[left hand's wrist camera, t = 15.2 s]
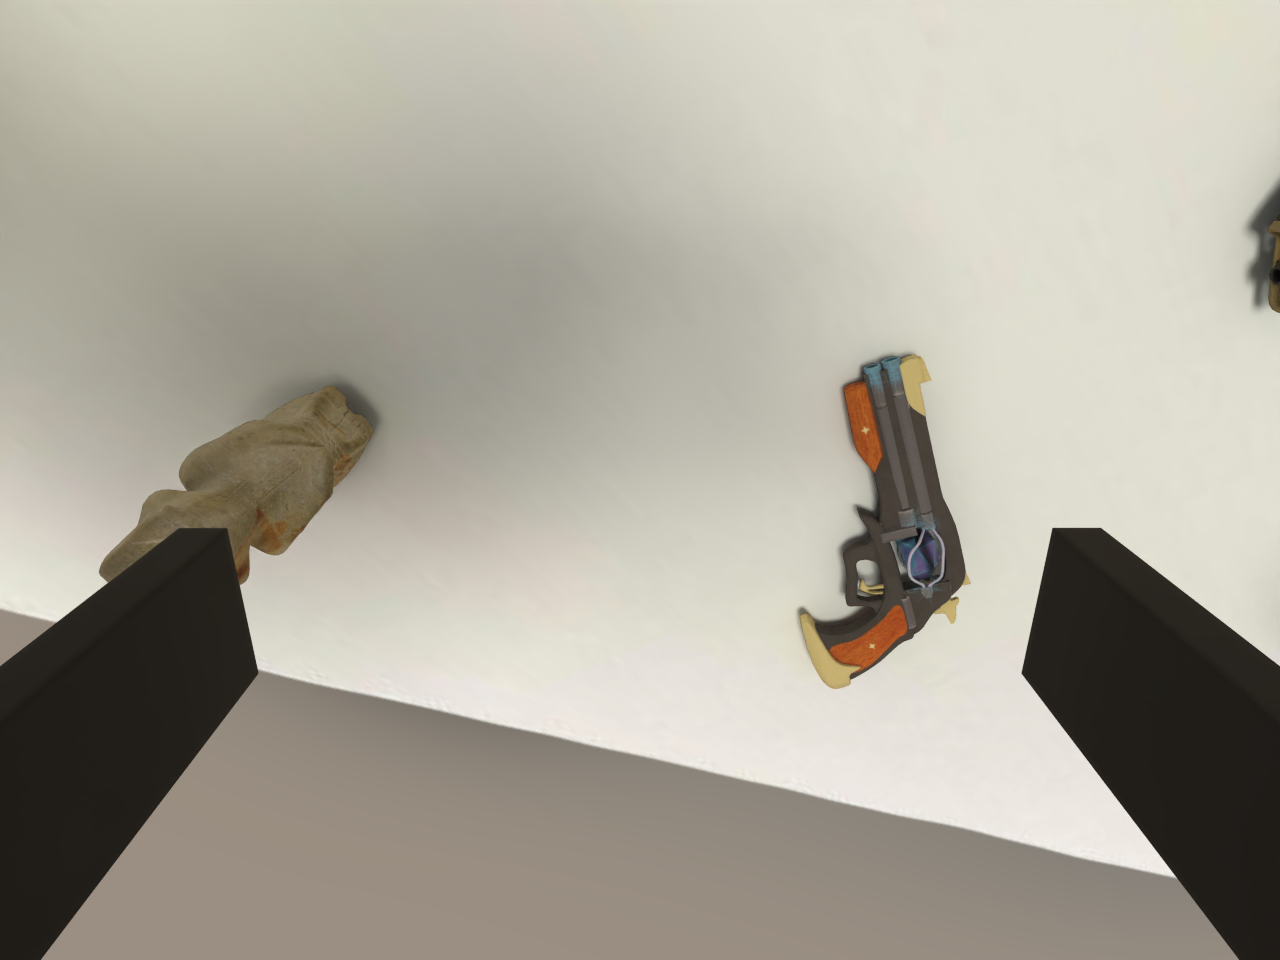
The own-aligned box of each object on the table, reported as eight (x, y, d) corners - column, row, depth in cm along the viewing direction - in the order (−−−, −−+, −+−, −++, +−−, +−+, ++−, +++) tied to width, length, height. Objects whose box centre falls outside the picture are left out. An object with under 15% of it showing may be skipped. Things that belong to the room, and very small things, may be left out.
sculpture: (237, 429, 43) (45, 551, 29) (333, 356, 42) (179, 448, 28) (310, 508, 45) (162, 659, 31) (405, 441, 44) (295, 568, 30)
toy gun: (821, 702, 47) (994, 670, 45) (737, 407, 42) (929, 354, 39) (818, 676, 50) (981, 645, 47) (738, 395, 44) (918, 345, 42)
